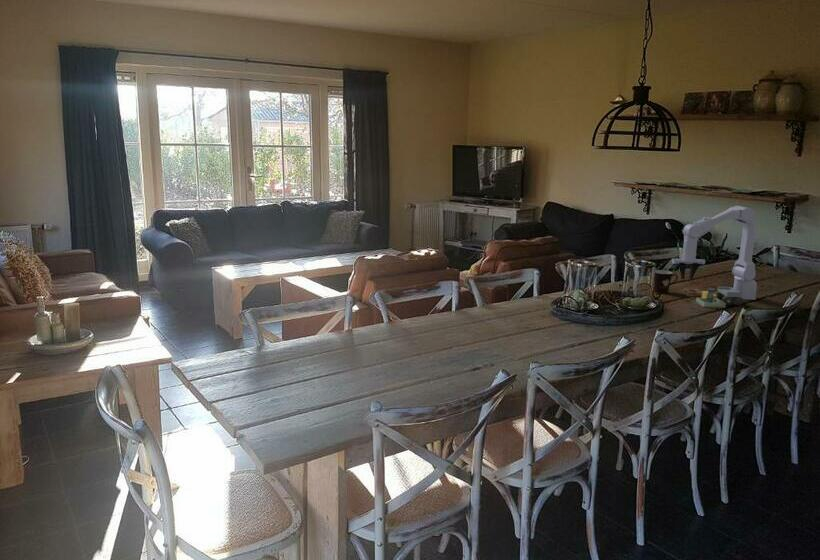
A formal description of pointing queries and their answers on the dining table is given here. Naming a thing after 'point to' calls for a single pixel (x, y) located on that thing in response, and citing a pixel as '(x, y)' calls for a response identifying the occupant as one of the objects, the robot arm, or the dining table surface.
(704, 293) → the block
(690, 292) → the pin socket
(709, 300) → the stop pin
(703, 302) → the tray
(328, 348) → the dining table surface
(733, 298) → the trolley
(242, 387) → the dining table surface
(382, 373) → the dining table surface
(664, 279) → the coffee mug
